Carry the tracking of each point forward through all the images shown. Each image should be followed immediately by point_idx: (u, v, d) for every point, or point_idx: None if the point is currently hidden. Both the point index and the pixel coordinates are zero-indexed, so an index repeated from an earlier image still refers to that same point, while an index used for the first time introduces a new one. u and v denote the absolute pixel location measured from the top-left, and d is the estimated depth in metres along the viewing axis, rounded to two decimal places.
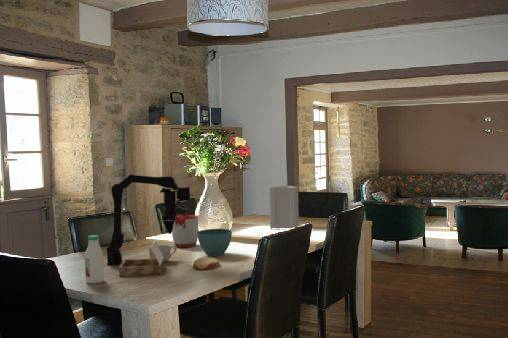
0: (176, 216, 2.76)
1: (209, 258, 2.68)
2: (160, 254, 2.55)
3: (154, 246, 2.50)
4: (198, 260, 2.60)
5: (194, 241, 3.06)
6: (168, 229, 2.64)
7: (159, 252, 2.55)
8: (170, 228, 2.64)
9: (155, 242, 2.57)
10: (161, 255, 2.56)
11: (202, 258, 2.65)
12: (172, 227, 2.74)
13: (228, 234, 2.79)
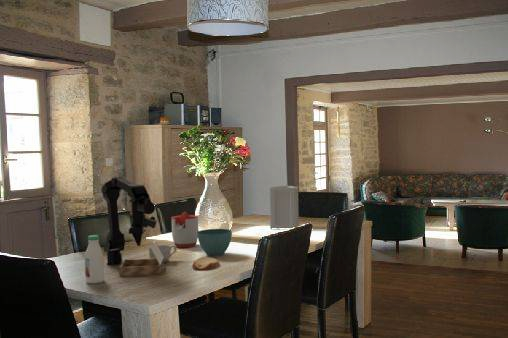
0: (144, 230, 2.52)
1: (209, 258, 2.68)
2: (160, 254, 2.55)
3: (154, 246, 2.50)
4: (198, 260, 2.60)
5: (194, 241, 3.06)
6: (137, 241, 2.49)
7: (159, 252, 2.55)
8: (139, 240, 2.49)
9: (155, 242, 2.57)
10: (161, 255, 2.56)
11: (202, 258, 2.65)
12: None
13: (228, 234, 2.79)
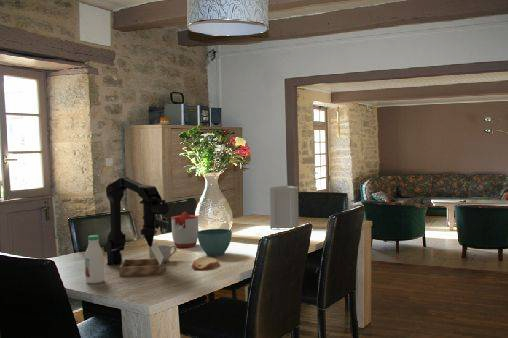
0: (156, 231, 2.53)
1: (209, 258, 2.68)
2: (160, 254, 2.55)
3: (154, 246, 2.50)
4: (197, 260, 2.60)
5: (194, 241, 3.06)
6: (148, 242, 2.49)
7: (159, 252, 2.55)
8: (151, 241, 2.49)
9: (155, 242, 2.57)
10: (161, 255, 2.56)
11: (202, 258, 2.65)
12: (151, 243, 2.51)
13: (228, 234, 2.79)
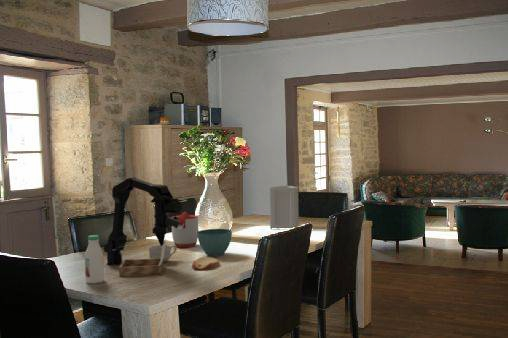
0: None
1: (210, 258, 2.68)
2: (163, 254, 2.55)
3: (164, 245, 2.51)
4: (198, 260, 2.60)
5: (194, 241, 3.06)
6: (160, 241, 2.50)
7: None
8: (162, 240, 2.50)
9: (165, 241, 2.58)
10: (163, 255, 2.56)
11: (202, 258, 2.65)
12: None
13: (228, 234, 2.79)
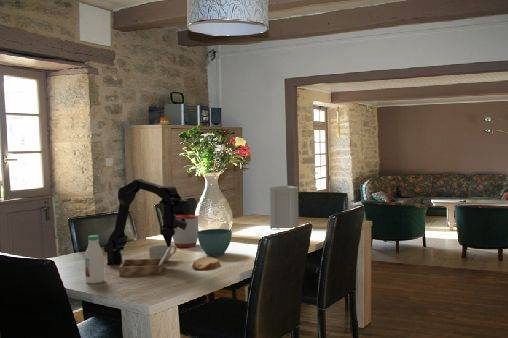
0: (174, 231, 2.53)
1: (210, 258, 2.68)
2: None
3: None
4: (198, 260, 2.60)
5: (194, 241, 3.06)
6: (167, 242, 2.50)
7: (166, 253, 2.55)
8: (170, 241, 2.50)
9: (171, 243, 2.58)
10: None
11: (203, 258, 2.66)
12: None
13: (228, 234, 2.79)
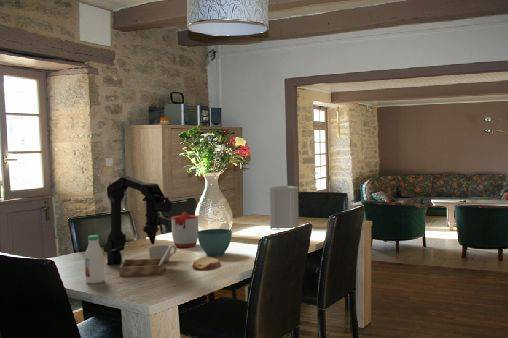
0: (158, 228, 2.53)
1: (211, 258, 2.68)
2: None
3: None
4: (199, 260, 2.60)
5: (194, 241, 3.06)
6: (151, 239, 2.50)
7: (166, 253, 2.55)
8: (153, 238, 2.50)
9: (171, 243, 2.58)
10: None
11: (203, 258, 2.66)
12: None
13: (228, 234, 2.79)
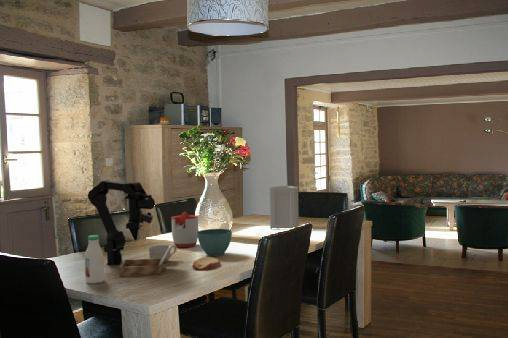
0: (141, 225, 2.63)
1: (211, 258, 2.68)
2: None
3: None
4: (199, 260, 2.60)
5: (194, 241, 3.06)
6: (134, 236, 2.60)
7: (166, 253, 2.55)
8: (136, 235, 2.60)
9: (171, 243, 2.58)
10: None
11: (204, 258, 2.66)
12: None
13: (228, 234, 2.79)
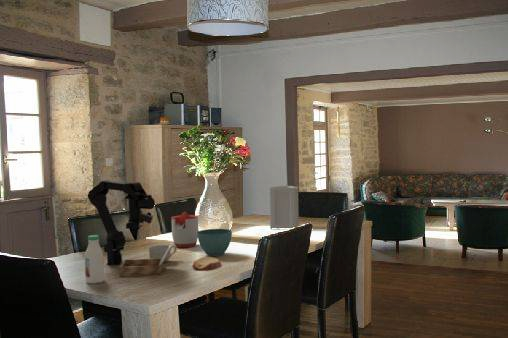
0: (141, 225, 2.63)
1: (211, 258, 2.68)
2: None
3: None
4: (199, 260, 2.60)
5: (194, 241, 3.06)
6: (133, 236, 2.60)
7: (166, 253, 2.55)
8: (136, 235, 2.60)
9: (171, 243, 2.58)
10: None
11: (204, 258, 2.66)
12: (136, 236, 2.61)
13: (228, 234, 2.79)
